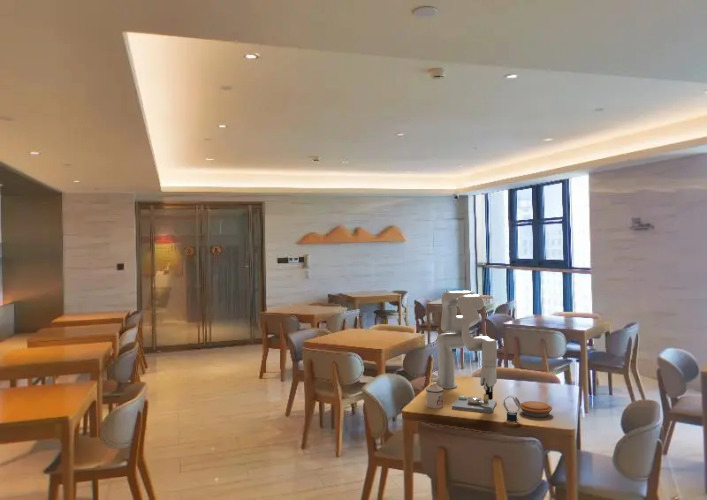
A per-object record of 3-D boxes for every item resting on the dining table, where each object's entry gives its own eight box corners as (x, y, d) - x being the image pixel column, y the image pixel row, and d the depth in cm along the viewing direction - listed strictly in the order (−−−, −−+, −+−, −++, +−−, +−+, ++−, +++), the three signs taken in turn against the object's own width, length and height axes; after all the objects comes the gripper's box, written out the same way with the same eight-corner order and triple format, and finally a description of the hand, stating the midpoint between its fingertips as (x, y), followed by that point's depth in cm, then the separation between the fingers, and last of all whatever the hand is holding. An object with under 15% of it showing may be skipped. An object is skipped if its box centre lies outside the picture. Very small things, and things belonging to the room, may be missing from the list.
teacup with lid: (439, 409, 266) (439, 386, 266) (423, 407, 271) (423, 384, 271) (448, 404, 276) (448, 381, 277) (432, 401, 281) (432, 379, 281)
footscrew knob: (464, 401, 274) (464, 390, 274) (474, 399, 277) (474, 388, 277) (482, 408, 263) (482, 395, 263) (492, 405, 266) (492, 393, 266)
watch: (520, 421, 247) (520, 398, 247) (502, 420, 250) (502, 396, 250) (521, 418, 252) (521, 395, 252) (504, 416, 255) (503, 393, 255)
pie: (555, 419, 250) (555, 409, 250) (521, 418, 253) (521, 407, 253) (548, 410, 266) (548, 400, 266) (517, 408, 268) (517, 398, 268)
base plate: (452, 408, 268) (452, 402, 268) (458, 399, 284) (458, 393, 284) (492, 413, 260) (492, 406, 260) (496, 403, 277) (496, 397, 277)
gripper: (488, 359, 276) (488, 394, 276) (475, 364, 265) (475, 401, 265) (502, 361, 272) (502, 397, 272) (489, 367, 260) (489, 403, 260)
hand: (489, 399), depth 268 cm, fingers closed
